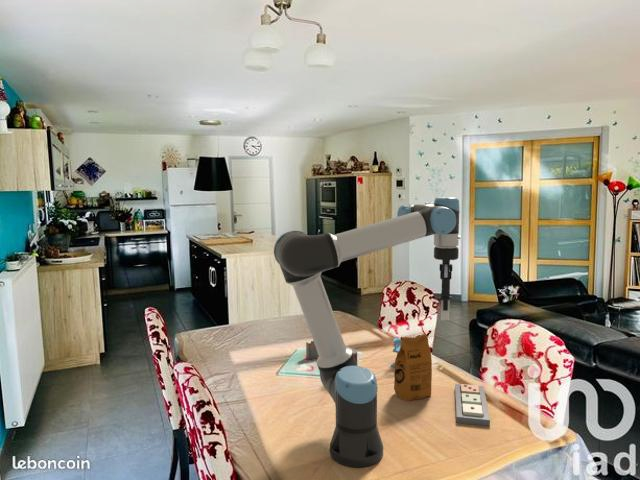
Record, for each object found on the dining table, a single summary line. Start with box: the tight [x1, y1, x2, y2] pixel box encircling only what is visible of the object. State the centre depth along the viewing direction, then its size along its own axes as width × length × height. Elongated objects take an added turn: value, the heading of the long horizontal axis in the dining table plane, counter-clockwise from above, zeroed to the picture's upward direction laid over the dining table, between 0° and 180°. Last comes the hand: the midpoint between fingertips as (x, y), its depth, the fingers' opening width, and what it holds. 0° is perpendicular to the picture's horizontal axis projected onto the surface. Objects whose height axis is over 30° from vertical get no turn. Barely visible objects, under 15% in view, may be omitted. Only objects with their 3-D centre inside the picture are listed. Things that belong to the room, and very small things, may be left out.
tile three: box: [460, 383, 479, 395], centre depth 172 cm, size 6×6×3 cm
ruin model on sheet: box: [305, 340, 319, 360], centre depth 214 cm, size 11×3×10 cm, turn 115°
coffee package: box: [393, 332, 433, 402], centre depth 173 cm, size 10×12×22 cm
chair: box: [390, 337, 402, 369], centre depth 202 cm, size 8×8×12 cm
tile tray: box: [454, 383, 491, 427], centre depth 164 cm, size 26×10×2 cm, turn 166°
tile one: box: [461, 402, 483, 417], centre depth 156 cm, size 6×6×3 cm
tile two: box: [461, 393, 481, 405], centre depth 164 cm, size 6×6×3 cm
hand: (445, 319), depth 154 cm, fingers closed
